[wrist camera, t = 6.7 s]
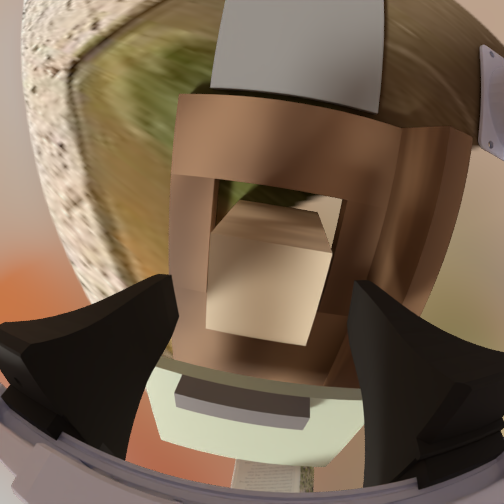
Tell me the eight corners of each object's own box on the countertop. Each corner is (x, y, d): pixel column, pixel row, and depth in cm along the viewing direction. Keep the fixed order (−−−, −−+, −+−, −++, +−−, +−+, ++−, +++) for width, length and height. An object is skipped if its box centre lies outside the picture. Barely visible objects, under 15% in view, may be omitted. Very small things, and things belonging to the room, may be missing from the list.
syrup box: (243, 407, 23) (212, 544, 10) (304, 399, 21) (295, 551, 8) (263, 434, 25) (243, 550, 11) (316, 427, 23) (312, 552, 10)
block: (317, 212, 15) (332, 253, 10) (302, 281, 17) (305, 345, 11) (239, 199, 15) (210, 233, 10) (231, 269, 17) (205, 328, 12)
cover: (379, 389, 12) (386, 419, 10) (325, 458, 15) (325, 480, 13) (147, 351, 12) (130, 378, 11) (164, 431, 16) (156, 452, 14)
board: (412, 134, 12) (472, 137, 7) (326, 394, 21) (329, 453, 15) (187, 97, 13) (130, 77, 8) (179, 369, 22) (155, 423, 16)
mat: (380, -7, 9) (383, -11, 8) (374, 114, 12) (377, 113, 12) (234, -28, 9) (233, -33, 9) (213, 89, 13) (210, 87, 13)
